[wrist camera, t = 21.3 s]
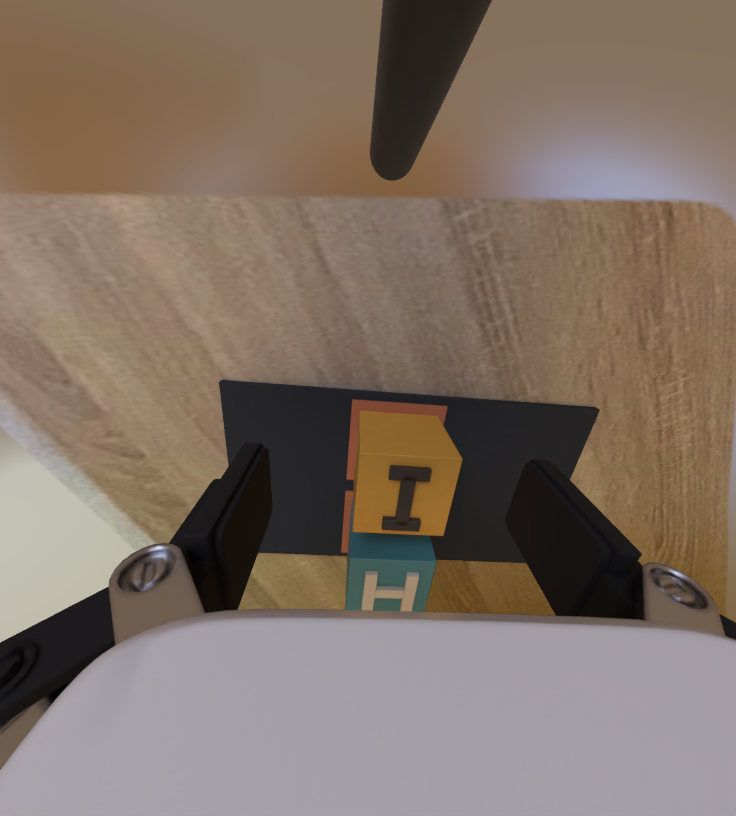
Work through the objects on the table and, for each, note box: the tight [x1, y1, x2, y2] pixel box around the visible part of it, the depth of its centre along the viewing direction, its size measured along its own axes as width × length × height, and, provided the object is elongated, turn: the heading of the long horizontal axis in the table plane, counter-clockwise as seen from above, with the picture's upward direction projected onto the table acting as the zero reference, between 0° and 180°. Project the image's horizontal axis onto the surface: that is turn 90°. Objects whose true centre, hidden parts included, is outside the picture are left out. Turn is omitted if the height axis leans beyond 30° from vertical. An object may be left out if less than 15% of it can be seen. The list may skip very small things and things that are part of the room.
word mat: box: [219, 380, 600, 563], centre depth 21 cm, size 14×24×1 cm, turn 85°
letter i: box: [353, 411, 463, 536], centre depth 17 cm, size 5×5×5 cm
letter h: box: [345, 499, 437, 612], centre depth 20 cm, size 5×5×5 cm
